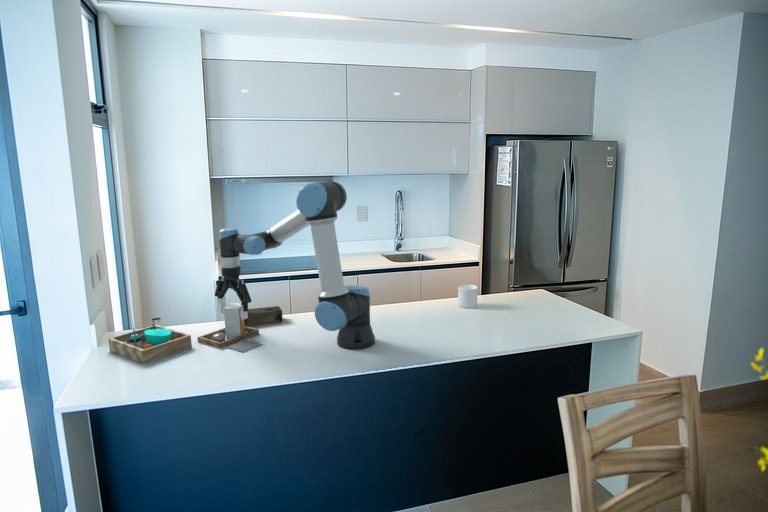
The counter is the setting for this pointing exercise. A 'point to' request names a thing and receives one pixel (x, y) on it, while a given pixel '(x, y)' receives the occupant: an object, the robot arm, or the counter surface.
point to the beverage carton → (263, 316)
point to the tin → (218, 337)
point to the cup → (467, 296)
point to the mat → (244, 345)
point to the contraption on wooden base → (150, 337)
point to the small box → (233, 320)
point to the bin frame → (206, 340)
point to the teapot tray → (153, 353)
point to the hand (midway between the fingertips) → (233, 315)
